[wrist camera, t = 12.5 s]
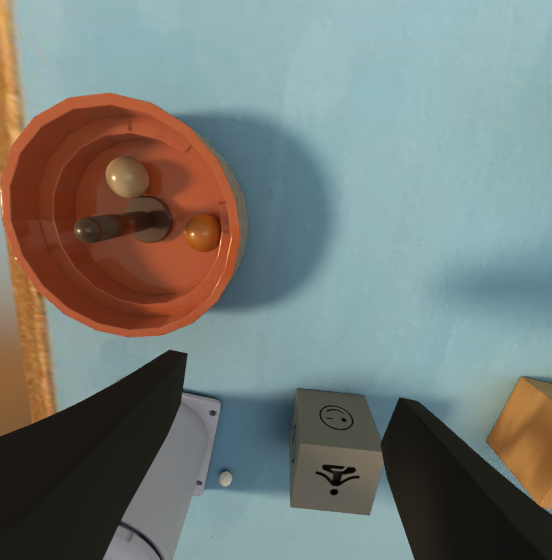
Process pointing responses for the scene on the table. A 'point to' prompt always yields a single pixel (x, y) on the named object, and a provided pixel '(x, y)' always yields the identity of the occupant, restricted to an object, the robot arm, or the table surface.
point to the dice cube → (333, 453)
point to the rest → (527, 438)
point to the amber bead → (203, 233)
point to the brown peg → (129, 222)
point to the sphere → (225, 479)
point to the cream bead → (127, 177)
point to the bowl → (103, 201)
